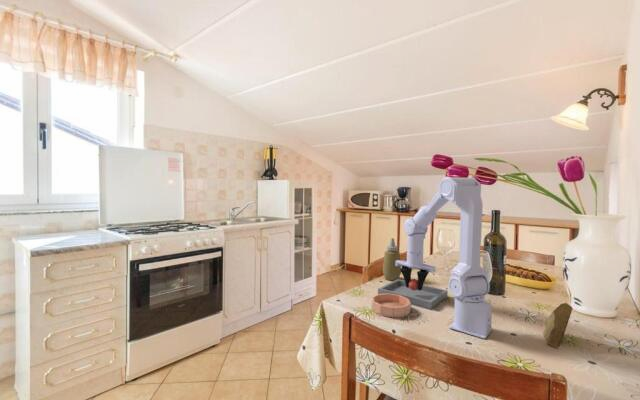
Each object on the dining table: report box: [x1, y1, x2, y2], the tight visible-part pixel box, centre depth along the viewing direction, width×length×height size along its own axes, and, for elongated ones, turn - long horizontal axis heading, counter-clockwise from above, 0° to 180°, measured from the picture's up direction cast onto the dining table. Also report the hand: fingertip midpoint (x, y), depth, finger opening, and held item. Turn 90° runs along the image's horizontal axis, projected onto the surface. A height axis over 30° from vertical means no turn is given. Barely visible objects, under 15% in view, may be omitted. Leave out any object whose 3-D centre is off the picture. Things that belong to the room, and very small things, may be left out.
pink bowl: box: [371, 293, 412, 319], centre depth 101 cm, size 12×13×3 cm
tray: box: [377, 278, 449, 311], centre depth 114 cm, size 20×16×2 cm
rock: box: [542, 302, 574, 349], centre depth 83 cm, size 11×9×10 cm
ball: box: [409, 278, 418, 290], centre depth 112 cm, size 4×4×4 cm
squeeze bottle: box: [382, 237, 402, 282], centre depth 135 cm, size 8×8×18 cm
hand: (414, 288), depth 112 cm, fingers closed on ball, 4 cm apart
